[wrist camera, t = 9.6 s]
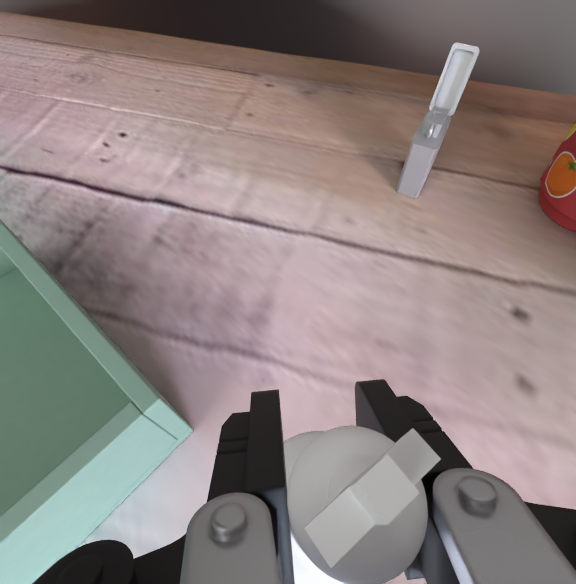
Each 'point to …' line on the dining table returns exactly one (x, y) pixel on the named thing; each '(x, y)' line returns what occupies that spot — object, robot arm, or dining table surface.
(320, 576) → the chess piece
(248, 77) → the dining table surface
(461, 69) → the lighter
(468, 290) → the dining table surface
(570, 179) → the smoothie
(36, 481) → the open box
